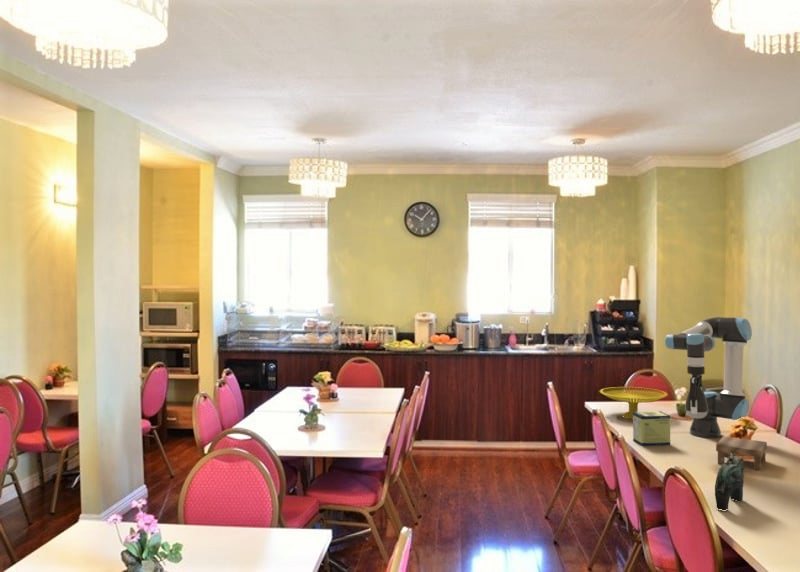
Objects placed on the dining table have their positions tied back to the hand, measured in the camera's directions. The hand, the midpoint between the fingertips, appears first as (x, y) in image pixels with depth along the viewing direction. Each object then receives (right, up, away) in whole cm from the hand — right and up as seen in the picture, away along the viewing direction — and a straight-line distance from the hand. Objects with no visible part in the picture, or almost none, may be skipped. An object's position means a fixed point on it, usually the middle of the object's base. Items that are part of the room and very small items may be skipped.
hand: (696, 411), depth 286 cm
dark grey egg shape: (0, -3, 0) cm, 3 cm away
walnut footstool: (+15, -21, -12) cm, 29 cm away
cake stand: (+2, -21, +84) cm, 86 cm away
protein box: (-12, -22, +24) cm, 34 cm away
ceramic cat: (-18, -23, -62) cm, 68 cm away
